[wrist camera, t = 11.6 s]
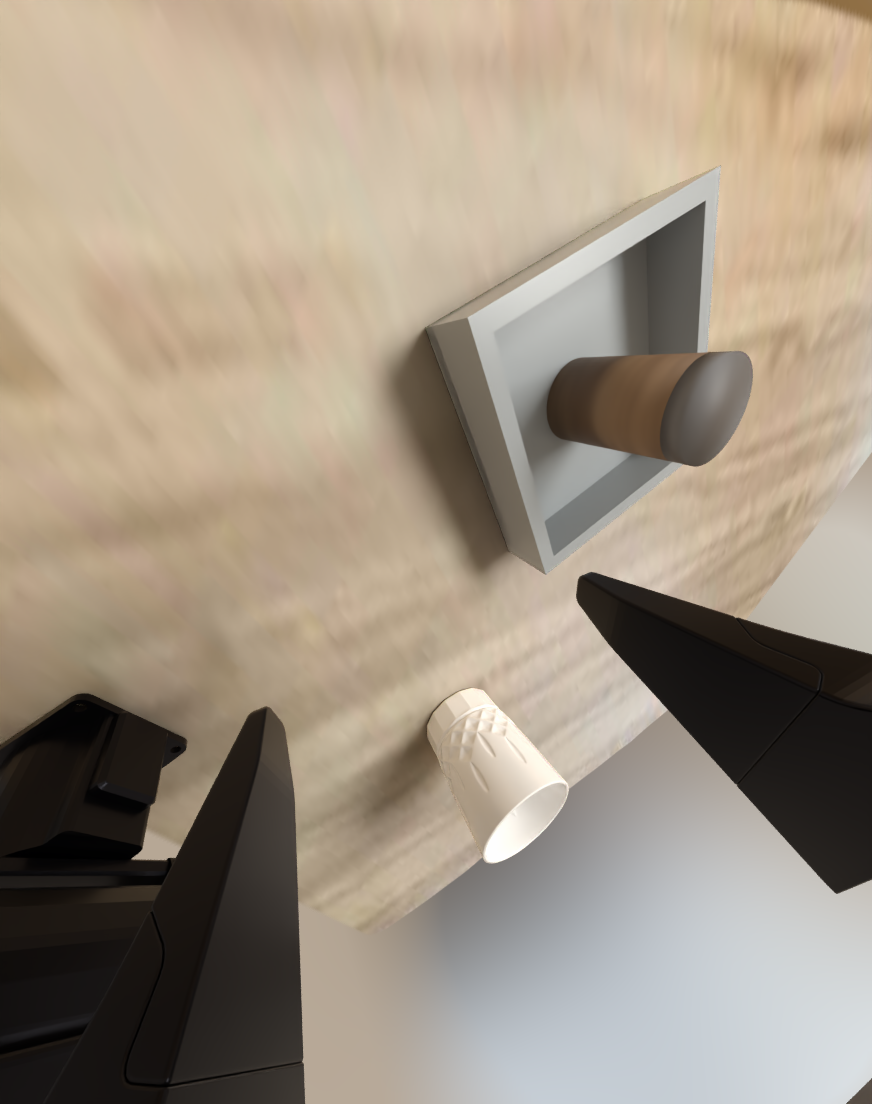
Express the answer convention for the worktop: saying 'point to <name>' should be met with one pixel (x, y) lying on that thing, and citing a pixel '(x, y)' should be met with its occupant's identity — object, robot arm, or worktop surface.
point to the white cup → (494, 774)
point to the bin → (566, 334)
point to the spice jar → (652, 403)
